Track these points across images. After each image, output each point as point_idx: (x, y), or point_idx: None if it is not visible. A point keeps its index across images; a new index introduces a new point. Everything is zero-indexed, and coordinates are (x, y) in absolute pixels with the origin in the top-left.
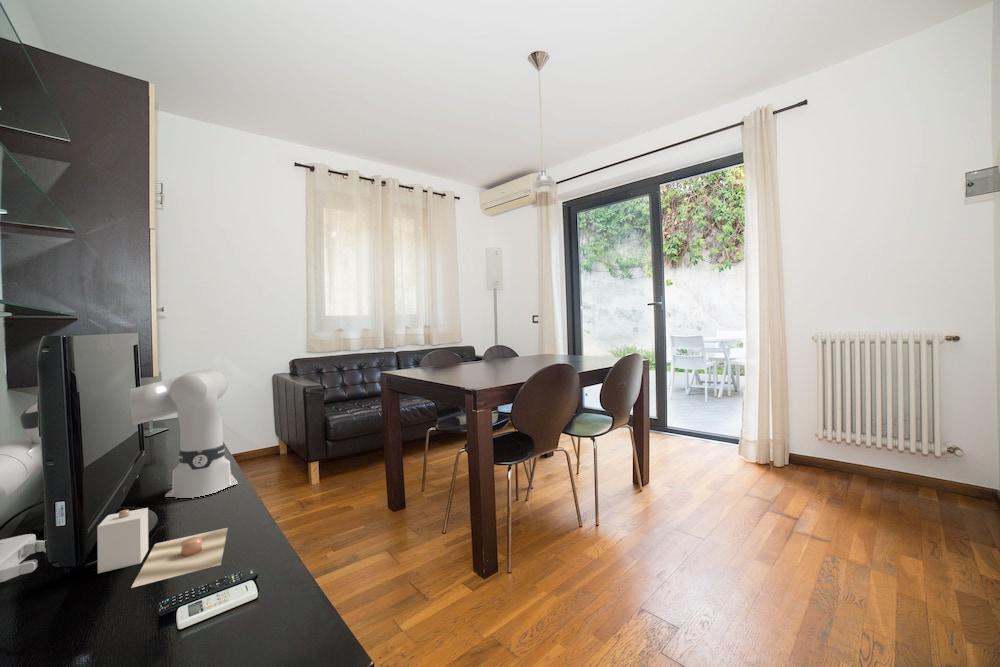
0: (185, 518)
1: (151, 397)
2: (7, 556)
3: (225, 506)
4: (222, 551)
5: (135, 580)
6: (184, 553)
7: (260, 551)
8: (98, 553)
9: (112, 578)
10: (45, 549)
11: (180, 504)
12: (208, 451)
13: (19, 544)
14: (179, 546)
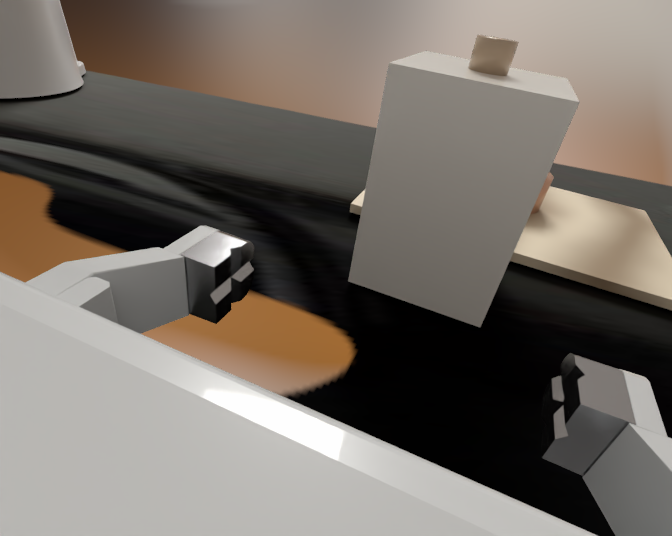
0: (183, 143)
1: None
2: (422, 460)
3: (213, 113)
4: (561, 189)
5: (643, 290)
6: (538, 205)
7: (586, 181)
8: (515, 242)
9: (529, 314)
10: (221, 302)
11: (28, 112)
12: None
13: (87, 326)
14: None
